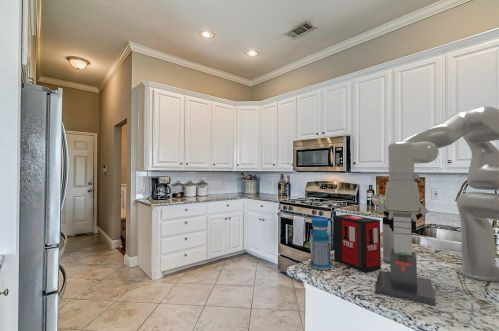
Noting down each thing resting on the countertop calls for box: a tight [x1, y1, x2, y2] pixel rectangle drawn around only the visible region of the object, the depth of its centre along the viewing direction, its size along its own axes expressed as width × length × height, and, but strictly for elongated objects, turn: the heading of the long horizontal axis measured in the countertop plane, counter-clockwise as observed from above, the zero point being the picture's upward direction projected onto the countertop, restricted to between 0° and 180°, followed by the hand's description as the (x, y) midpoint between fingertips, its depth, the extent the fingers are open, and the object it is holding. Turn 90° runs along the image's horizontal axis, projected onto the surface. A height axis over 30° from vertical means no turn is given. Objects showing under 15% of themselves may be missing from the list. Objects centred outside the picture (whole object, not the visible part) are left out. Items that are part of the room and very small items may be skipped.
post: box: [393, 211, 413, 257], centre depth 87 cm, size 5×5×17 cm
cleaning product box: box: [333, 213, 382, 274], centre depth 110 cm, size 16×9×20 cm, turn 27°
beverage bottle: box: [309, 217, 332, 271], centre depth 108 cm, size 8×8×20 cm
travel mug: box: [381, 216, 394, 265], centre depth 113 cm, size 6×7×20 cm
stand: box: [374, 249, 436, 306], centre depth 86 cm, size 16×16×12 cm
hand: (402, 231), depth 87 cm, fingers closed on post, 5 cm apart
